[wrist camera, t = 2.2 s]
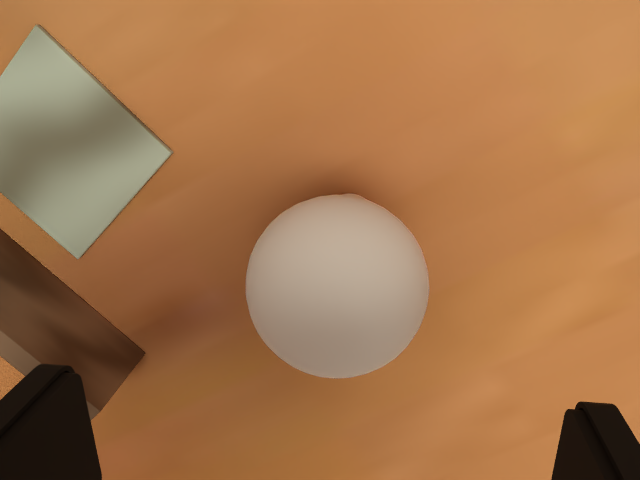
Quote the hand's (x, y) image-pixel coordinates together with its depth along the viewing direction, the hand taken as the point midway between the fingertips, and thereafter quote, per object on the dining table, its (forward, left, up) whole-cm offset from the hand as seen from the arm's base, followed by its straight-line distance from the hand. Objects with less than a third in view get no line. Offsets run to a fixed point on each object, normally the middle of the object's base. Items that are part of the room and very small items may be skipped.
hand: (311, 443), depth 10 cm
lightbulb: (0, 0, -16) cm, 16 cm away
